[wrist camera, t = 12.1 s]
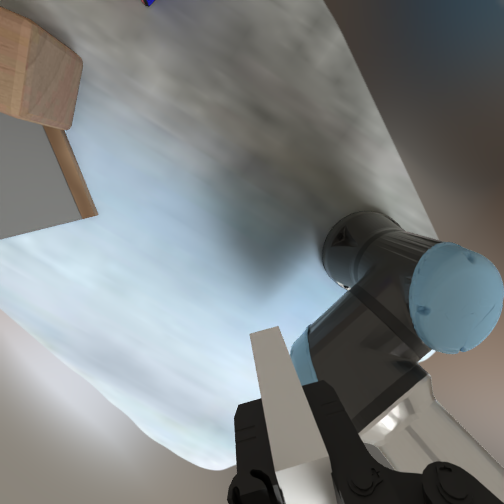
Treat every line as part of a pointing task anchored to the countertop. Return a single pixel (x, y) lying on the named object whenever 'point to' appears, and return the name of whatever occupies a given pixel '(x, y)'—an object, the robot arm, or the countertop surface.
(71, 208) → the grey flat rectangular panel
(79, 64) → the wooden block
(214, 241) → the countertop surface
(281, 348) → the robot arm
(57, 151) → the stop strip
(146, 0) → the puzzle cube
